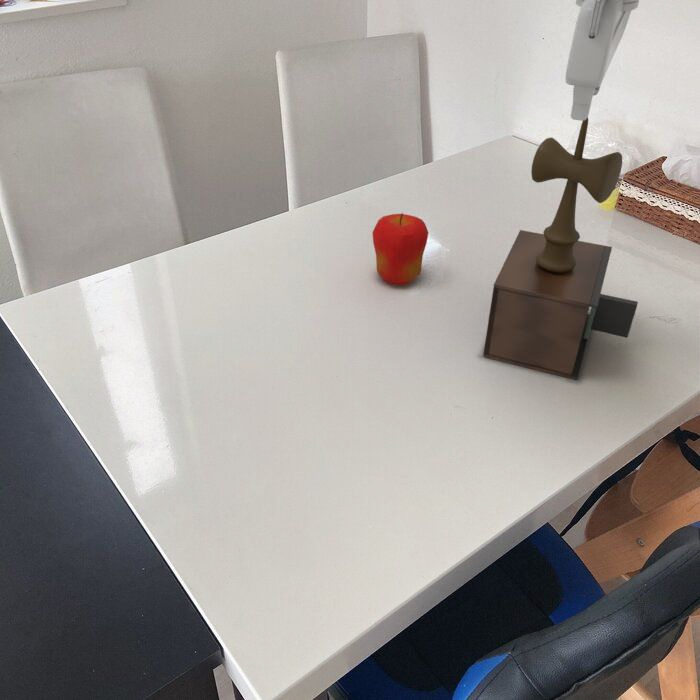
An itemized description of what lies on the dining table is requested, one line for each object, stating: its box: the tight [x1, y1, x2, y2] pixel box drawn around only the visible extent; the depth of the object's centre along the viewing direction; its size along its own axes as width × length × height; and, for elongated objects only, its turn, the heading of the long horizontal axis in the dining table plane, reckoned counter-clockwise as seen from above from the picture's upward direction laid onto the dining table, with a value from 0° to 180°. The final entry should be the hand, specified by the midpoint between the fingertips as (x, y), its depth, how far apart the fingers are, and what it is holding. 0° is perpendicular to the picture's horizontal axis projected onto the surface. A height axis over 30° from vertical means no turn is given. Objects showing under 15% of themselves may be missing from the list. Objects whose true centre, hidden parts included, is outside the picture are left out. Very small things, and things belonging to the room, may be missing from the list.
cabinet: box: [482, 229, 613, 381], centre depth 95 cm, size 13×16×12 cm
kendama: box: [531, 116, 623, 273], centre depth 85 cm, size 6×10×20 cm, turn 50°
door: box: [584, 293, 639, 340], centre depth 96 cm, size 6×8×11 cm, turn 157°
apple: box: [371, 212, 429, 286], centre depth 108 cm, size 9×8×12 cm
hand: (585, 105), depth 78 cm, fingers open, 8 cm apart
